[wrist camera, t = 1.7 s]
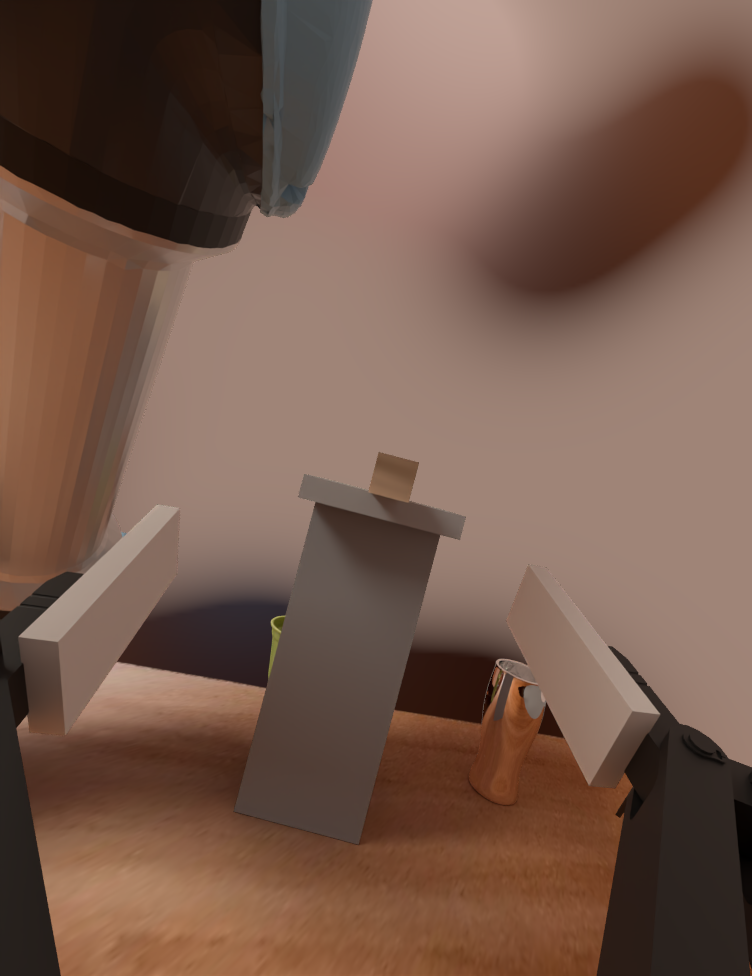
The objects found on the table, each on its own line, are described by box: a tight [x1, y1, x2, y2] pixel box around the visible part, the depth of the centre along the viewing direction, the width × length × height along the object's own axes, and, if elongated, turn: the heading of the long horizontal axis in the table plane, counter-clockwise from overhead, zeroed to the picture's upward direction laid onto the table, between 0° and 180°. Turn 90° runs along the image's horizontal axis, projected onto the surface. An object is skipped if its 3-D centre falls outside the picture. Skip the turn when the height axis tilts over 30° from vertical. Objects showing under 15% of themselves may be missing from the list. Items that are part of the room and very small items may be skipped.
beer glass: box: [469, 659, 546, 805], centre depth 53 cm, size 7×7×15 cm
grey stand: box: [234, 474, 466, 845], centre depth 43 cm, size 16×14×32 cm
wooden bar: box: [368, 452, 419, 503], centre depth 38 cm, size 26×2×2 cm, turn 0°
